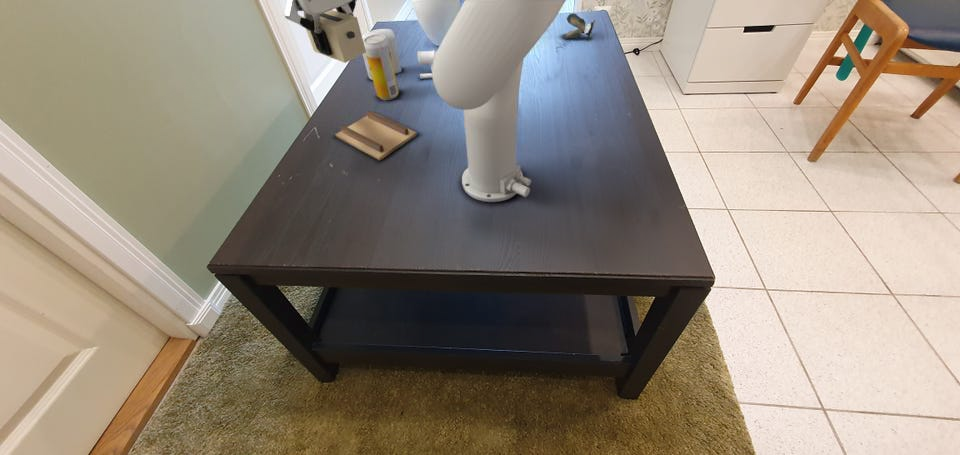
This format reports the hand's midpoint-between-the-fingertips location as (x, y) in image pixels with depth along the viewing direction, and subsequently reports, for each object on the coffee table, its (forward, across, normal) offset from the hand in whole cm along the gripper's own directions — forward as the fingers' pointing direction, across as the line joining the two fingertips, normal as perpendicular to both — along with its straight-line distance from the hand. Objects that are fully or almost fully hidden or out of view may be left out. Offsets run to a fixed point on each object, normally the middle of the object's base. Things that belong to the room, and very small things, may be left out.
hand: (338, 46), depth 69 cm
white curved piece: (+24, +28, +25) cm, 45 cm away
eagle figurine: (+24, +80, -11) cm, 85 cm away
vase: (+24, +53, +24) cm, 63 cm away
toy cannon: (+24, +38, +10) cm, 45 cm away
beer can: (+24, +20, +15) cm, 35 cm away
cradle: (+24, +5, +4) cm, 24 cm away
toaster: (+1, 0, 0) cm, 1 cm away
